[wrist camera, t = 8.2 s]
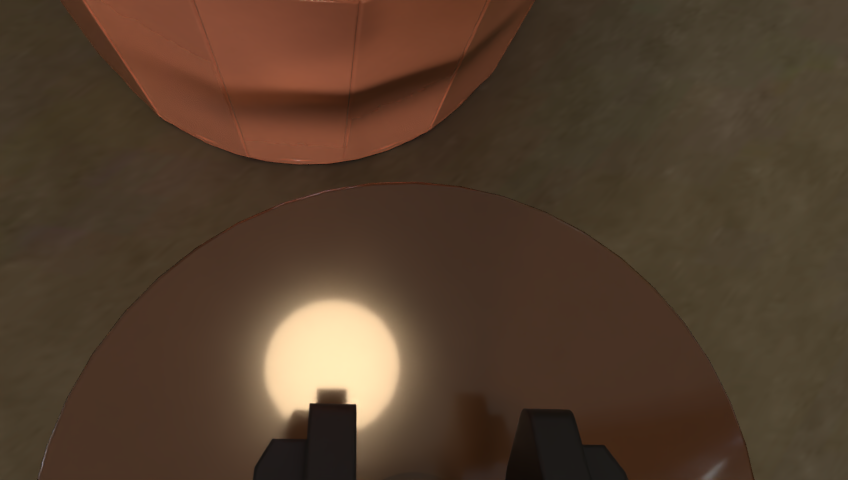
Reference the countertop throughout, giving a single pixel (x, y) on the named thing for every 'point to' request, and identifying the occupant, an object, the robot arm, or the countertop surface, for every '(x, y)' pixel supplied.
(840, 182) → the countertop surface
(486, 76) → the crock
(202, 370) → the lid
